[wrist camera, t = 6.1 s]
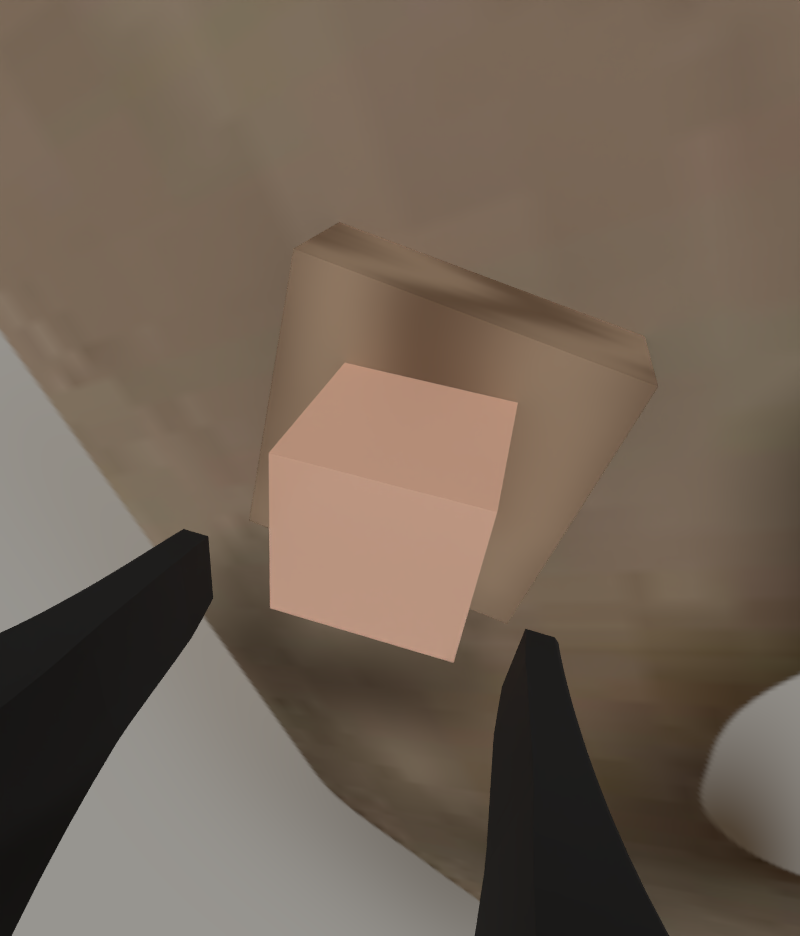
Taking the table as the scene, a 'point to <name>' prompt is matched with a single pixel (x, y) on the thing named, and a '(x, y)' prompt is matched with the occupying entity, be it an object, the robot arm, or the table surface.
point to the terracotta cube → (387, 507)
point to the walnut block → (465, 380)
